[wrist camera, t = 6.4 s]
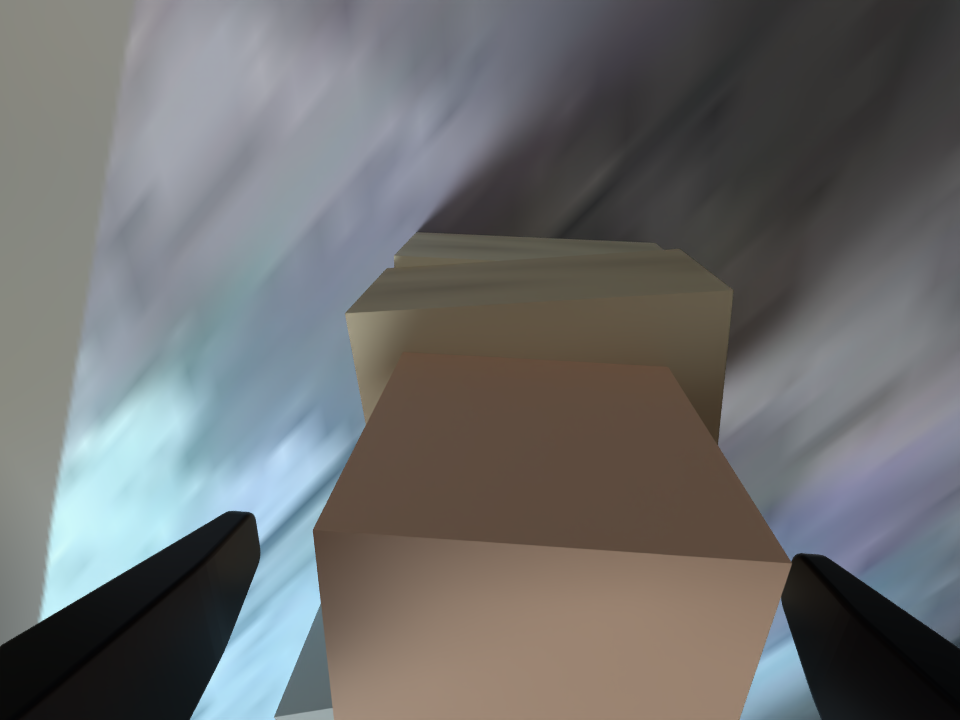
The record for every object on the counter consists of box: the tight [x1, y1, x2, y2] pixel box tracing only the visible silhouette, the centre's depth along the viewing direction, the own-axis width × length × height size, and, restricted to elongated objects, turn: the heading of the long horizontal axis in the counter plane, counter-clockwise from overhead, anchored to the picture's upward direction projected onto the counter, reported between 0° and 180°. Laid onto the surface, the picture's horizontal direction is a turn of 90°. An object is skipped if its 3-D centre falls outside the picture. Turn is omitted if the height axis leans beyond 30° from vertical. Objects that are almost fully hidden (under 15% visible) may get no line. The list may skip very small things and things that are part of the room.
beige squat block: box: [345, 249, 734, 445], centre depth 13 cm, size 7×7×4 cm
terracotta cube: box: [313, 352, 792, 720], centre depth 9 cm, size 5×5×5 cm
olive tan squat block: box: [394, 232, 663, 268], centre depth 16 cm, size 7×7×4 cm
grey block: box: [274, 604, 334, 720], centre depth 21 cm, size 5×5×5 cm
